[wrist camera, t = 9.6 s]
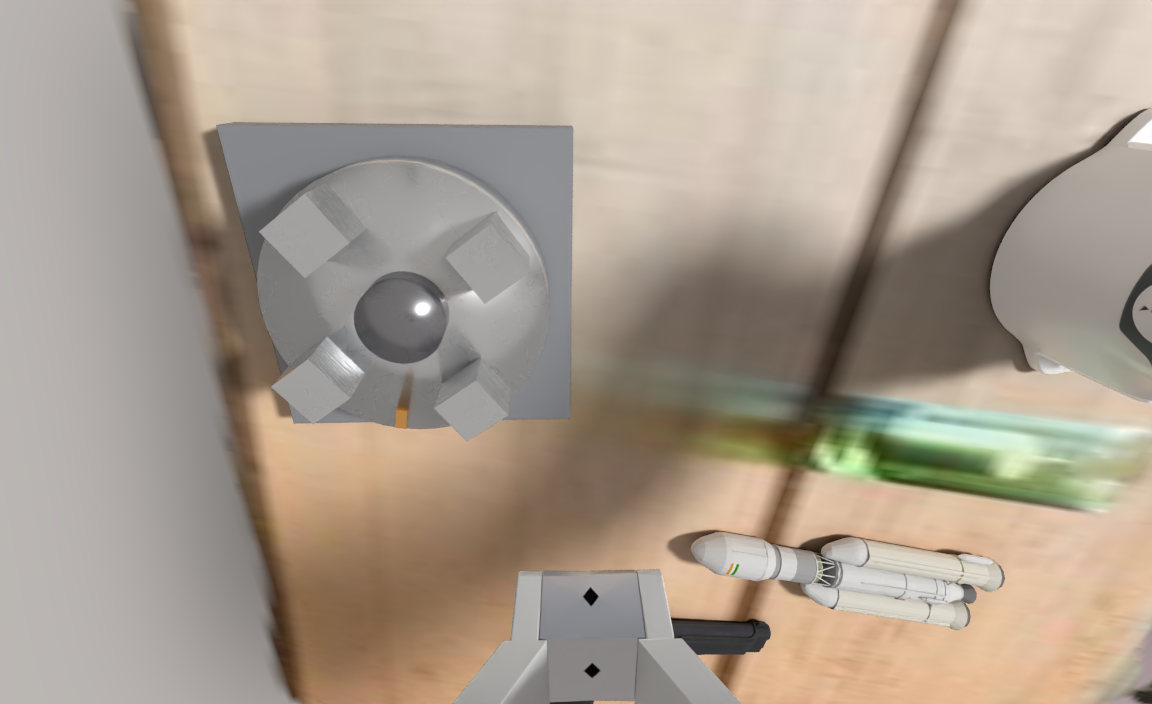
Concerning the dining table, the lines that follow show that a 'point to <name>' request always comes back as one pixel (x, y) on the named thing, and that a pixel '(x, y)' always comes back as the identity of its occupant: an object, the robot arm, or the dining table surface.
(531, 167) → the flat gray base plate
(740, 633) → the handgun
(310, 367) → the domed disc mount
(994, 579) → the rocket model
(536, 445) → the dining table surface
